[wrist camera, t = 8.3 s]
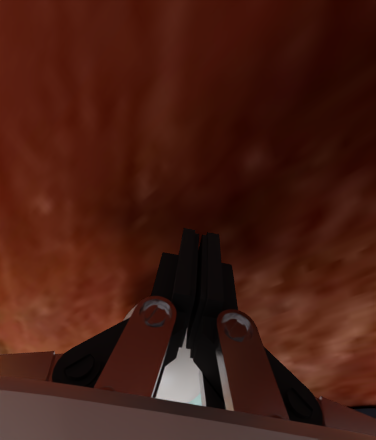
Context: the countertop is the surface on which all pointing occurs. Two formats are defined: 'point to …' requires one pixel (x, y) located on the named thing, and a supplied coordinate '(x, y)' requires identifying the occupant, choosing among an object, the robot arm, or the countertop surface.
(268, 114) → the countertop surface
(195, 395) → the cue ball
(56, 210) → the countertop surface
